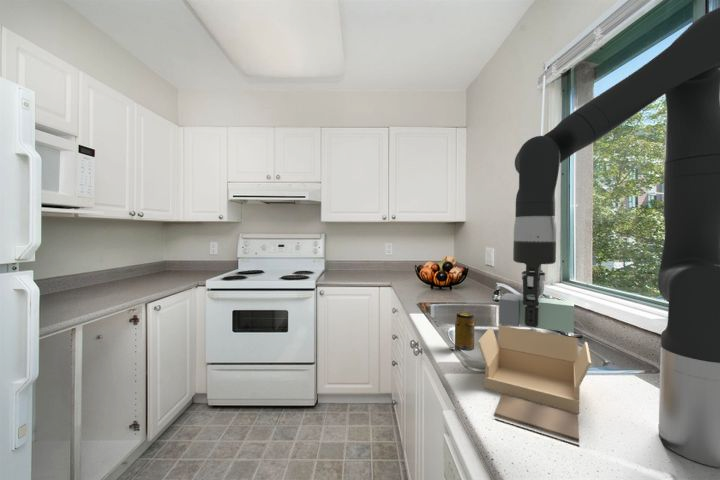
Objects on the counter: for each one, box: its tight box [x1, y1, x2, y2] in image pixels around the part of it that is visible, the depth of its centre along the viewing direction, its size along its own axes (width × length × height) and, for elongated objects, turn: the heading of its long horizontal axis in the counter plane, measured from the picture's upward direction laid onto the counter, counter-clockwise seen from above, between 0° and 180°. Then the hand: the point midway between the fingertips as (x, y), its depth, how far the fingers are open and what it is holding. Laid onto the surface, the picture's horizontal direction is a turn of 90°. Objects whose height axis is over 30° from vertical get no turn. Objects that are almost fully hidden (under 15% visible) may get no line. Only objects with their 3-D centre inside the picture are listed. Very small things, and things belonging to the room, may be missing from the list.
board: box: [494, 393, 580, 448], centre depth 63 cm, size 14×9×2 cm, turn 56°
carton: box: [477, 325, 592, 415], centre depth 76 cm, size 22×18×12 cm
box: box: [498, 292, 575, 334], centre depth 62 cm, size 12×8×5 cm, turn 56°
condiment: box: [448, 311, 475, 352], centre depth 100 cm, size 7×8×12 cm
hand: (532, 322), depth 63 cm, fingers closed on box, 5 cm apart
